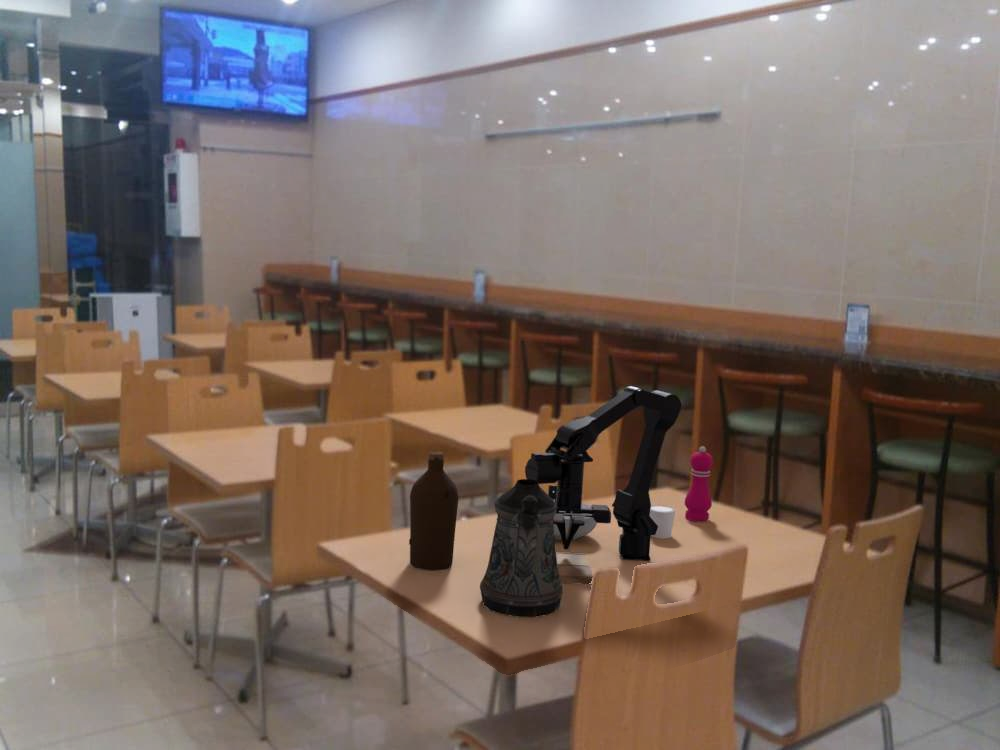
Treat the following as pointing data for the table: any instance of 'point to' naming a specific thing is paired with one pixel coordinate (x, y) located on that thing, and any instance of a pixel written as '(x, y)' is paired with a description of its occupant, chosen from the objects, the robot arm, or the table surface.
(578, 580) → the laid board
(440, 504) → the olive oil
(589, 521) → the cereal bowl
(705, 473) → the pepper mill
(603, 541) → the table surface
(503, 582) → the ornate coffee pot
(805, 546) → the table surface
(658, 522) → the shot glass
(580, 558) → the plank
